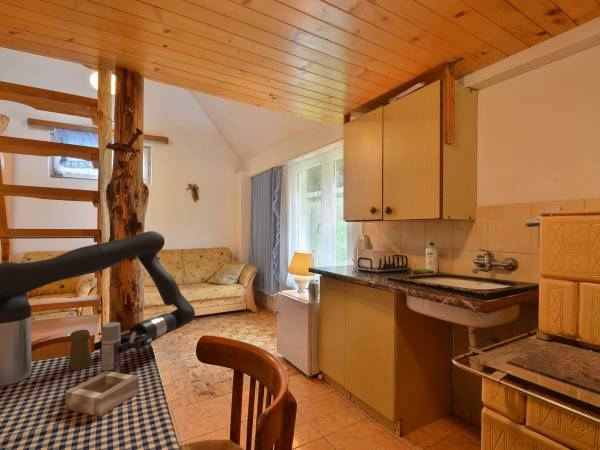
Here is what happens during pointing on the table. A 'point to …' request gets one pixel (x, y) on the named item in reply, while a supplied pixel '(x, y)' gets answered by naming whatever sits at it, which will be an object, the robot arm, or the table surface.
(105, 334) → the container
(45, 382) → the table surface
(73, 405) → the square holder
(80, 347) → the olive pepper mill
